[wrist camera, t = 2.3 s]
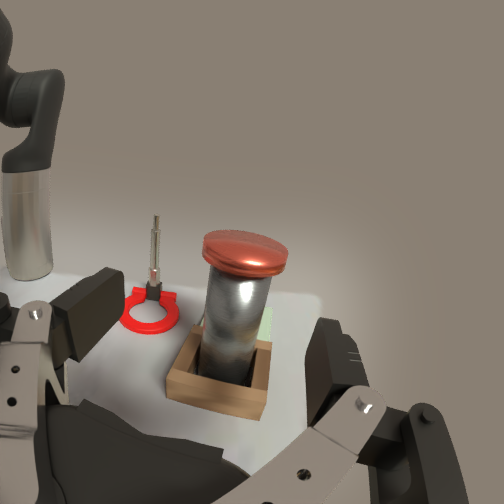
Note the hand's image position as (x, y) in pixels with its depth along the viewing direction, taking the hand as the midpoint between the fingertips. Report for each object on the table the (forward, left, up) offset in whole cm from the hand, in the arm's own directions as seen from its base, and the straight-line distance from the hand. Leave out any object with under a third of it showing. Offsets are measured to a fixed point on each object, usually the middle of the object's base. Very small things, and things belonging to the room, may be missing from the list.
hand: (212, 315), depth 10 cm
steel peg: (0, +11, -16) cm, 20 cm away
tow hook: (-12, +20, -16) cm, 28 cm away
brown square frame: (0, +11, -16) cm, 19 cm away
